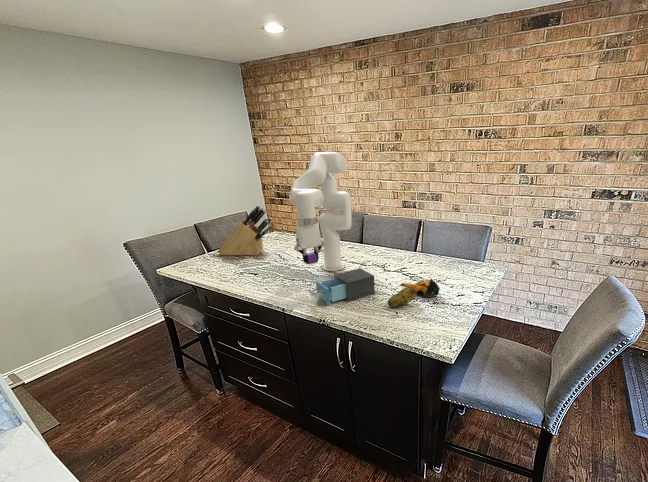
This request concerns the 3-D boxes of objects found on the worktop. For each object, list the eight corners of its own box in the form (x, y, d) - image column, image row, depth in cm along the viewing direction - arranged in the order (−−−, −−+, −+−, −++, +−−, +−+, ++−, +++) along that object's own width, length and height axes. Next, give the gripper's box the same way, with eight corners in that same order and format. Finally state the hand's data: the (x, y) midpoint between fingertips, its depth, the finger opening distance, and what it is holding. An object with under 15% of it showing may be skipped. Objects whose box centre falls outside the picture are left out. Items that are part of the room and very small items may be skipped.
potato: (386, 301, 151) (386, 285, 148) (415, 300, 152) (415, 284, 149) (388, 310, 144) (387, 293, 141) (417, 309, 144) (418, 292, 141)
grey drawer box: (347, 301, 152) (346, 282, 149) (335, 292, 162) (333, 274, 158) (374, 293, 160) (374, 275, 156) (360, 285, 169) (360, 268, 166)
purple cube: (305, 262, 151) (304, 253, 150) (313, 260, 153) (312, 251, 152) (308, 264, 148) (307, 255, 147) (317, 262, 150) (316, 254, 149)
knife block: (272, 255, 216) (264, 207, 204) (217, 256, 217) (207, 207, 205) (277, 250, 227) (270, 203, 214) (225, 250, 227) (216, 204, 215)
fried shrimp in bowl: (439, 293, 148) (401, 278, 149) (432, 307, 156) (396, 293, 158) (444, 278, 154) (407, 264, 155) (437, 293, 162) (402, 279, 164)
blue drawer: (318, 307, 145) (316, 292, 142) (307, 298, 154) (305, 283, 151) (354, 296, 154) (353, 282, 152) (342, 288, 163) (341, 274, 160)
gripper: (321, 217, 151) (324, 256, 158) (284, 222, 142) (290, 263, 149) (328, 220, 145) (331, 260, 152) (291, 225, 136) (296, 268, 143)
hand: (311, 261), depth 151 cm, fingers closed on purple cube, 4 cm apart
